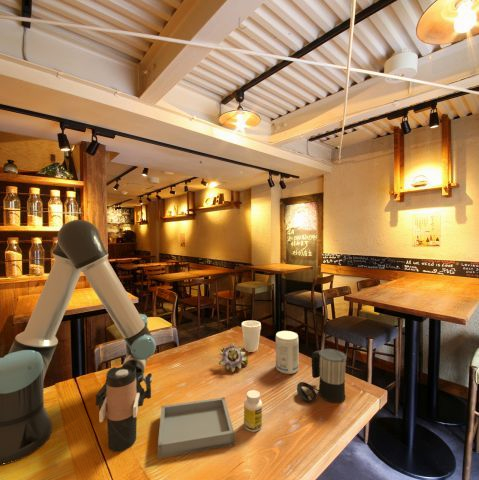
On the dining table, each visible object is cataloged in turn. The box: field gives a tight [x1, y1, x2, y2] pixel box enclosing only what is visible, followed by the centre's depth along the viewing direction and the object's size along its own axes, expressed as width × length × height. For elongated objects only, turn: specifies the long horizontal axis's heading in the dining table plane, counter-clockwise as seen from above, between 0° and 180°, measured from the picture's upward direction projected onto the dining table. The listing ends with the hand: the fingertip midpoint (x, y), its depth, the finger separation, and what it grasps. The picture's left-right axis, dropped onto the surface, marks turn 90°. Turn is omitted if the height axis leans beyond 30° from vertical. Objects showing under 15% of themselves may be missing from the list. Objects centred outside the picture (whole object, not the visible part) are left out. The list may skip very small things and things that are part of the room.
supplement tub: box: [275, 330, 300, 375], centre depth 114 cm, size 10×10×15 cm
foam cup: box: [241, 320, 262, 352], centre depth 132 cm, size 10×9×13 cm
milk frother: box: [296, 348, 347, 403], centre depth 95 cm, size 14×16×15 cm
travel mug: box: [105, 364, 138, 453], centre depth 75 cm, size 8×8×20 cm
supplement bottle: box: [243, 389, 263, 433], centre depth 81 cm, size 5×5×10 cm
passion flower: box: [218, 341, 249, 373], centre depth 116 cm, size 11×11×12 cm
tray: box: [157, 397, 235, 460], centre depth 79 cm, size 20×16×4 cm
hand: (118, 414), depth 70 cm, fingers closed on travel mug, 7 cm apart
